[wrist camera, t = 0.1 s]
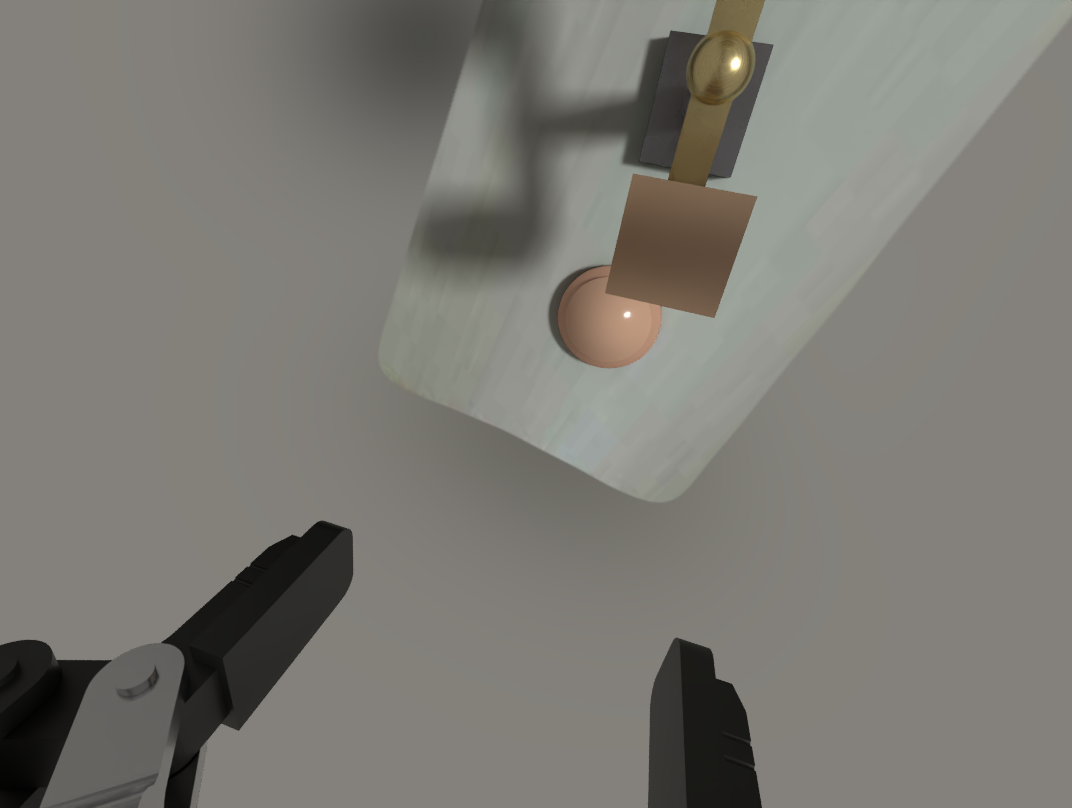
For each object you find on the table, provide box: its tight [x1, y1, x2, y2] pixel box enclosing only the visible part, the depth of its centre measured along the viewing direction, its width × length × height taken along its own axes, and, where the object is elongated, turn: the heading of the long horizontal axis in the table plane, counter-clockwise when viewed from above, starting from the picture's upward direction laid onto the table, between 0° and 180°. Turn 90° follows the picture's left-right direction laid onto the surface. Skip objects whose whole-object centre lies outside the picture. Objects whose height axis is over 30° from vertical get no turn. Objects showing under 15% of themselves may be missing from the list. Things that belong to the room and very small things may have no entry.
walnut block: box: [605, 174, 757, 318], centre depth 20 cm, size 4×4×6 cm
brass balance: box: [639, 0, 773, 187], centre depth 23 cm, size 19×6×15 cm, turn 170°
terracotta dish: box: [558, 265, 661, 368], centre depth 36 cm, size 8×8×1 cm
